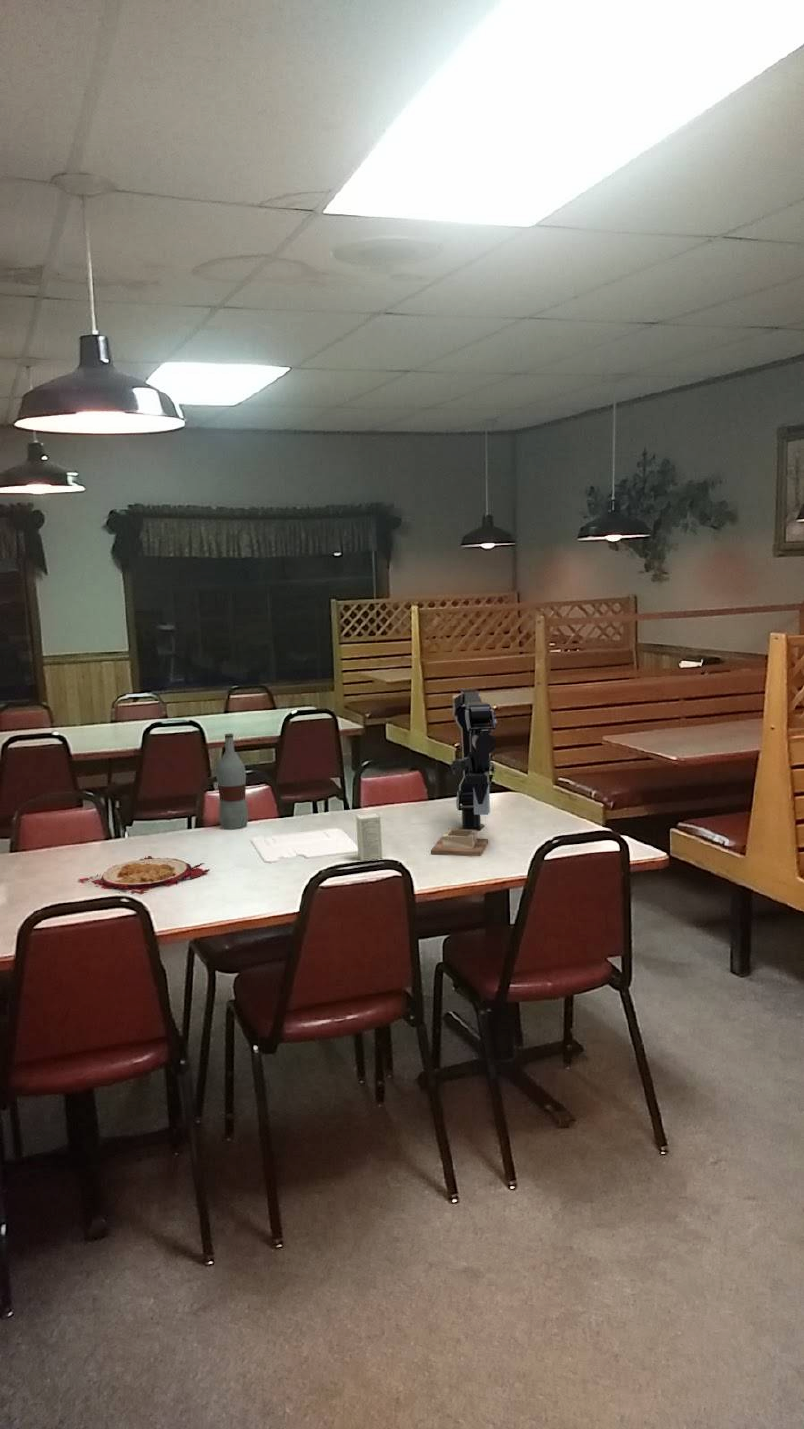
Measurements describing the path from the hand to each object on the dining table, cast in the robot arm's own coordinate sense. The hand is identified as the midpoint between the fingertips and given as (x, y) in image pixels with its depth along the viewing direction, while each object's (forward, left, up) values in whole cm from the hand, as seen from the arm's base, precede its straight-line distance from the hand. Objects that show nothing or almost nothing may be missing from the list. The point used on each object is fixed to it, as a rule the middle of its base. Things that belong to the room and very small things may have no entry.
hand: (481, 802), depth 273 cm
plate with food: (+41, -84, -14) cm, 95 cm away
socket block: (+2, -6, -13) cm, 15 cm away
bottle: (-14, -83, -13) cm, 85 cm away
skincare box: (+15, -29, -13) cm, 35 cm away
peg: (0, 0, -3) cm, 3 cm away
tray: (+6, -52, -14) cm, 54 cm away
